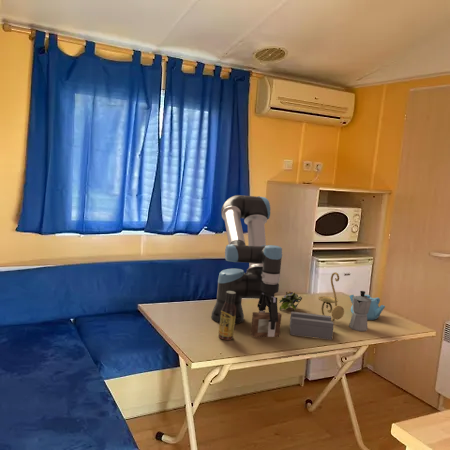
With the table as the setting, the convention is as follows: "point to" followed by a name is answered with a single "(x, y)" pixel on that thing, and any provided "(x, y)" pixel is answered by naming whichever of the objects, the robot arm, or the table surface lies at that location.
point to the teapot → (371, 308)
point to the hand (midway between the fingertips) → (265, 330)
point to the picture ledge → (311, 325)
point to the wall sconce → (337, 310)
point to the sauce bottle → (228, 317)
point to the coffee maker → (360, 312)
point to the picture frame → (263, 324)
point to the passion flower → (290, 300)
